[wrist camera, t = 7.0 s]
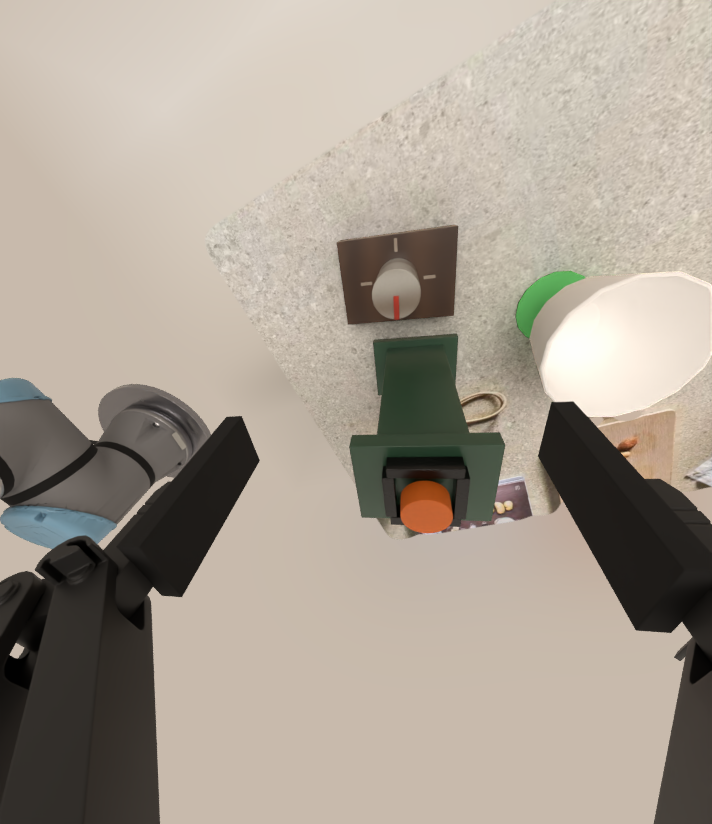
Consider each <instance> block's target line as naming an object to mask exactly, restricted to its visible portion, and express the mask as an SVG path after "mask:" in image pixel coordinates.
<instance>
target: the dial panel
mask: <svg viewBox="0 0 712 824" xmlns="http://www.w3.org/2000/svg"><path fill="white" fill-rule="evenodd" d="M457 238H458V226H456V225H449V226H442V227H435V228H427V229H420V230H413V231H405V232H398V233H391V234H383V235H376V236H369V237H361V238H354V239H347V240H341V241H339V242H337V248H338V255H339V262H340V270H341V277H342V284H343V291H344V298H345V305H346V313H347V320H348V324H360V323H372V322H383V321H395V320H394V319H390V318H387V317H385V316H383V315H381V314H380V313H379V312H378V311H377V309H376V308H375V306H374V304H373V300H372V290H373V286H374V283H375V281H376V278H377V276H378V274H379V271H380V269H381V268H382V266H383V265H384V264H385V263H386V262H388V261H389V260H392V259H395V258H402V259H405V260H408V261H409V262H411V263H412V264H413V265H414V267H415V269H416V271H417V274H418V279H419V283H420V288H421V297H420V301H419V304H418V306H417V307H416V309H415V310H414V311H413V312H412V313H411V314H410V315H408V316H406V317H404V318H401V319H399V320H407V319H419V318H430V317H442V316H453V315H454V299H455V279H456V259H457Z"/></svg>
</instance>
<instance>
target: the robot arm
mask: <svg viewBox="0 0 712 824" xmlns="http://www.w3.org/2000/svg"><path fill="white" fill-rule="evenodd" d="M93 444H95V445H93ZM191 454H192V444H191V441H190V439H189V437H188V435H187V433H186V432H185V431H184V429H183V428H182V427H181V426H180V425H179V424H178V423H177V422H176V421H175V420H173V419H172V418H171V417H169V416H168V415H166V414H164V413H162V412H160V411H158V410H156V409H153V408H149V407H145V406H131V407H128V408H126V409H124V410H122V411H121V412H120V413H118V414H117V415H115V416H114V418H113V419H112V421H111V423H110V424H109V426H108V427H107V429H106V430H105V432H104V433H103V435H102V436H101V438H100V439H99V441H92V440H88V438H87V437H85V435H84V434H82V432H81V431H79V429H78V428H77V427H76V426H75V425H74V424H73V423H72V422H71V421H70V420H69V419H68V418H67V417H66V416H65V415H64V414H63V413H62V412H61V411H60V410H59V409H58V408H57V407H56V406H55V405H54V404H53V403H52V399H50V398H49V397H47V396H45V395H44V394H43V393H42V392H41V391H40V390H39V389H37V388H36V387H35V386H34V385H33V384H32V383H31V382H29V381H27V380H24V379H20V378H9V379H4V380H0V499H1V500H3V501H4V502H6V503H7V504H8V505H9V506H10V507H9V508H7V509H6V510H5V511H4V513H3V514H2V515H1V517H0V521H1V523H2V524H4V525H5V528H6V529H7V530H9V531H10V532H12V533H13V534H15V535H17V536H19V537H20V538H23V539H25V540H27V541H29V542H32V543H35V544H37V545H41V546H44V547H47V548H51V549H52V550H51V551H50V552H48V553H47V554H46V555H45V556H44V557H43V558H42V560H41V561H40V562H39V563H38V565H37V567H36V568H35V571H36V572H38V573H39V574H40V575H41V576H43V577H44V578H45V579H42V580H41V579H40V578H38V577H37V576H36V575H35V574H33V573H32V572H28V571H25V572H20V573H17V574H15V575H12V576H10V577H8V578H6V579H4V580H3V581H1V582H0V824H160V817H159V816H160V815H159V789H158V765H157V740H156V715H155V691H154V664H153V640H152V614H151V601H150V598H149V597H148V596H147V595H148V593H149V592H150V590H151V589H152V587H154V588H155V589H156V590H157V591H158V592H159V593H160V594H161V595H162V596H175V597H182V596H183V594H184V592H185V590H186V589H187V587H188V585H189V583H190V582H191V580H192V578H193V576H194V575H195V573H196V571H197V570H198V568H199V566H200V564H201V563H202V561H203V559H204V557H205V556H206V554H207V552H208V550H209V548H210V547H211V545H212V543H213V542H214V540H215V538H216V536H217V535H218V533H219V531H220V529H221V528H222V526H223V524H224V522H225V520H226V519H227V517H228V515H229V514H230V512H231V510H232V508H233V507H234V505H235V503H236V501H237V500H238V498H239V496H240V494H241V492H242V491H243V489H244V487H245V485H246V484H247V482H248V480H249V478H250V477H251V475H252V473H253V471H254V470H255V468H256V466H257V464H258V463H259V458H258V455H257V453H256V450H255V448H254V446H253V443H252V441H251V438H250V436H249V433H248V431H247V428H246V426H245V423H244V421H243V418H242V416H236V417H226V418H225V420H224V421H223V422H222V423H221V424H220V425H219V427H218V428H217V429H216V430H215V431H214V432H213V434H212V435H211V436H210V437H209V438H208V439H207V441H206V442H205V443H204V444H203V445H202V446H201V448H200V449H199V450H198V451H197V452H196V453H195V455H194V456H193V457H192V458H191V459H190V461H189V462H188V463H187V464H186V465H185V466H184V468H183V469H182V470H181V471H180V472H179V473H178V475H177V476H176V477H175V478H174V479H173V480H172V482H167V483H166V484H165V485H163V486H162V487H161V488H160V489H158V490H156V491H155V492H154V493H153V495H152V496H151V497H150V498H149V499H148V500H147V501H146V502H145V505H143V506H142V507H141V508H140V509H139V510H138V512H137V514H136V515H134V516H133V517H132V518H131V519H130V521H129V522H128V523H127V524H126V525H125V526H124V527H123V529H122V530H121V531H120V532H119V533H118V534H117V535H116V536H115V538H114V539H113V540H112V541H111V542H110V543H109V544H108V546H107V547H106V548H105V549H104V550H102V549H101V548H100V547H99V546H98V545H97V544H98V543H99V542H100V541H101V540H102V539H103V538H104V537H105V536H106V535H107V534H108V533H109V532H110V531H111V530H113V529H115V528H116V526H117V524H118V523H119V522H120V521H121V520H122V519H123V517H124V516H125V515H126V514H127V513H128V512H129V511H130V510H131V509H132V507H133V506H134V505H135V504H136V503H137V502H138V501H139V500H140V499H141V497H142V496H143V495H144V494H145V493H146V492H147V491H148V489H150V487H151V486H152V485H153V484H154V483H155V482H156V481H158V480H160V479H162V478H164V477H165V476H167V475H169V474H171V473H172V472H174V471H176V470H177V469H179V468H181V467H182V466H183V465H184V464H185V463H186V462H187V461H188V460H189V458H190V457H191ZM538 457H539V459H540V460H541V462H542V464H543V466H544V468H545V469H546V471H547V473H548V475H549V476H550V478H551V480H552V482H553V484H554V485H555V487H556V489H557V491H558V492H559V494H560V496H561V498H562V500H563V501H564V503H565V505H566V507H567V508H568V510H569V512H570V514H571V515H572V517H573V519H574V521H575V523H576V525H577V526H578V528H579V530H580V532H581V533H582V535H583V537H584V539H585V540H586V542H587V544H588V546H589V548H590V549H591V551H592V553H593V555H594V556H595V558H596V560H597V562H598V564H599V565H600V567H601V569H602V571H603V573H604V574H605V576H606V578H607V579H608V581H609V583H610V585H611V587H612V589H613V590H614V592H615V594H616V596H617V597H618V599H619V601H620V603H621V604H622V606H623V608H624V610H625V612H626V613H627V615H628V617H629V619H630V621H631V622H632V624H633V626H634V628H635V630H639V631H652V632H667V633H671V632H672V631H673V630H674V629H675V628H676V627H677V626H678V625H679V624H680V623H681V622H683V624H684V625H685V626H686V628H687V629H688V631H689V632H690V633H691V635H692V638H691V639H690V640H689V641H688V642H687V643H686V644H685V645H684V646H683V647H682V648H681V649H680V650H679V651H678V652H677V654H676V655H675V657H674V658H676V659H678V660H679V661H681V660H682V659H683V658H684V657H685V656H686V657H685V662H684V667H683V672H682V678H681V683H680V688H679V694H678V699H677V704H676V709H675V715H674V720H673V726H672V730H671V736H670V741H669V746H668V752H667V757H666V762H665V767H664V772H663V778H662V783H661V788H660V794H659V799H658V804H657V809H656V815H655V820H654V824H712V524H711V523H710V520H709V519H708V518H707V517H706V516H704V514H703V513H702V512H701V511H698V510H697V507H696V506H694V504H693V503H692V502H691V501H690V500H689V499H688V498H687V497H686V496H685V495H684V494H683V493H682V492H680V491H679V490H677V489H675V488H674V487H672V486H671V485H669V484H667V483H666V482H664V481H663V480H661V479H644V478H643V477H642V476H641V475H640V474H639V473H638V472H637V471H636V469H635V468H634V467H633V466H632V465H631V464H630V463H629V462H628V461H627V460H626V458H625V457H624V456H623V455H622V454H621V453H620V452H619V451H618V450H617V449H616V447H615V446H614V445H613V444H612V443H611V442H610V441H609V440H608V439H607V438H606V437H605V435H604V434H603V433H602V432H601V431H600V430H599V429H598V428H597V427H596V426H595V425H594V423H593V422H592V421H591V420H590V419H589V418H588V417H587V416H586V415H585V413H584V412H583V411H582V410H581V409H580V408H579V407H578V406H577V405H576V404H575V403H574V401H570V402H551V406H550V410H549V414H548V418H547V422H546V426H545V430H544V434H543V438H542V442H541V446H540V450H539V454H538ZM15 643H18V644H19V645H21V646H23V647H25V648H24V650H23V653H22V654H21V655H20V656H19V658H18V659H16V658H13V657H12V656H10V655H9V654H10V653H11V651H12V649H13V647H14V645H15Z"/></svg>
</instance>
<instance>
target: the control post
mask: <svg viewBox="0 0 712 824" xmlns="http://www.w3.org/2000/svg"><path fill="white" fill-rule="evenodd" d="M373 346H374V356H375V366H376V376H377V387H378V395H382V397H381V406H380V414H379V423H378V431H377V435H352V437H351V442H350V446H349V448H350V454H351V459H352V465H353V471H354V476H355V482H356V488H357V493H358V499H359V505H360V511H361V516H362V517H369V518H391V524H393V525H404V523H403V522H402V520H401V517H400V502H401V492H402V490H403V489H404V488H405V487H406V486H407V485H409V484H411V483H413V482H416V481H433V482H436V483H439V484H441V485H442V486H444V487H445V488H446V489H447V491H448V492H449V495H450V500H451V507H452V513H453V520H452V522H451V524H450V525H449V526H453V527H460V525H461V520H467V521H491V520H492V514H493V509H494V503H495V498H496V492H497V487H498V482H499V476H500V471H501V465H502V460H503V454H504V449H505V443H504V441H503V439H502V437H501V434H500V433H499V432H495V433H469V430H468V427H467V423H466V420H465V417H464V413H463V410H462V406H461V403H460V400H459V396H458V393H457V390H456V386H455V380H456V363H457V346H458V336H457V334H447V335H434V336H421V337H408V338H394V339H381V340H374V342H373Z"/></svg>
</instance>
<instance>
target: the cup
mask: <svg viewBox="0 0 712 824" xmlns="http://www.w3.org/2000/svg"><path fill="white" fill-rule="evenodd" d="M516 320H517V325H518V328H519V329H520V331H521V332H522V333H523V334H524V335H525V336H526V337H528V338H530V343H531V347H532V352H533V356H534V359H535V362H536V366H537V369H538V372H539V376H540V379H541V382H542V386H543V389H544V392H545V393H546V394H547V395H548V396H549V397H550V398H551V399H552V400H553V402H570V401H574V403H575V404H576V405H577V406H578V407H579V408H580V409H581V410H582V411H583V412H584V413H585V415H586V416H587V417H615V416H619V415H623V414H626V413H630V412H634V411H638V410H642V409H645V408H647V407H649V406H651V405H653V404H655V403H657V402H659V401H661V400H663V399H664V398H666V397H668V396H670V395H672V394H674V393H676V392H677V391H679V390H680V389H681V388H682V387H683V386H684V385H685V384H686V383H688V382H689V381H690V380H691V379H692V378H693V377H694V376H695V375H696V374H698V373H699V372H700V371H701V370H702V369H703V368H704V367H705V366H706V364H707V362H708V361H709V359H710V357H711V356H712V285H711V284H710V283H708V282H705V281H703V280H700V279H698V278H696V277H693V276H691V275H688V274H686V273H683V272H681V271H675V272H657V273H639V274H623V275H606V276H590V277H587V278H585V277H584V276H582V275H579V274H577V273H574V272H572V271H563V272H554V273H552V274H549V275H547V276H544V277H542V278H540V279H539V280H537V281H536V282H535V283H534V284H533V285H531V286H530V287H529V288H528V289H527V290H526V291H525V293H524V295H523V296H522V298H521V299H520V301H519V303H518V307H517V312H516Z"/></svg>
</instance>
